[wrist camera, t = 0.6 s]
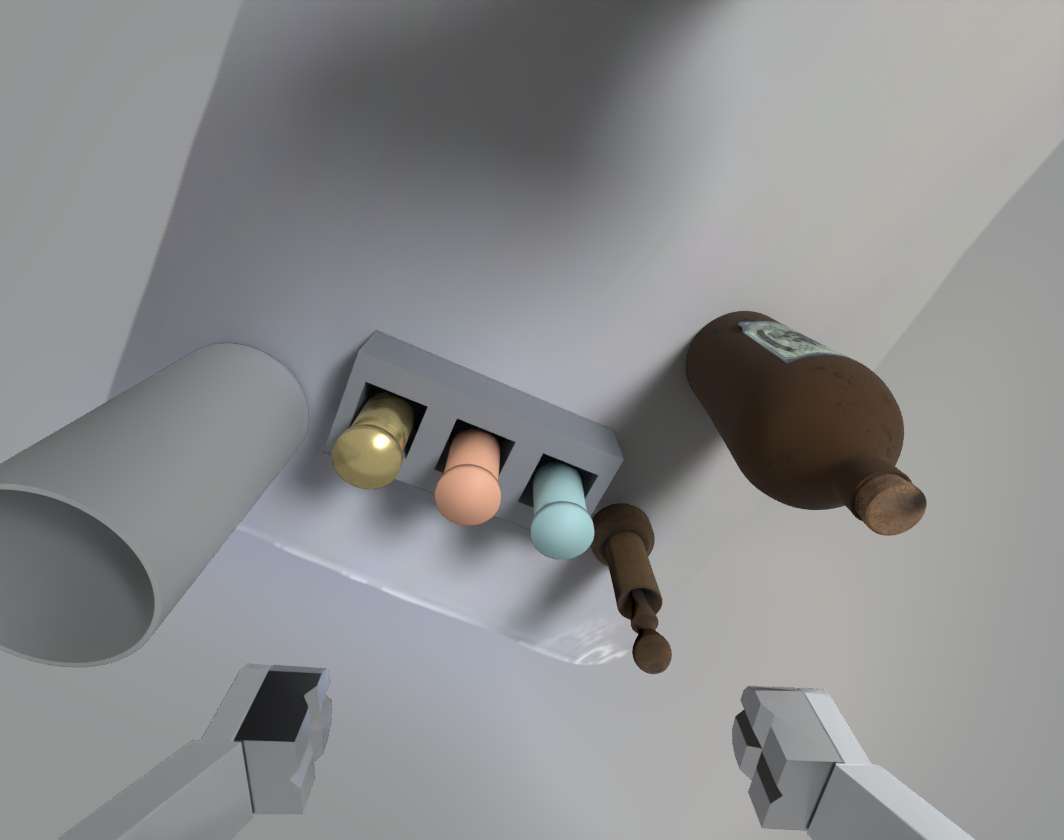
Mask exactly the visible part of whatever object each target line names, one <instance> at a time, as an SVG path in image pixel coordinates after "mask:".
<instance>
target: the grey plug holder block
mask: <svg viewBox="0 0 1064 840" xmlns="http://www.w3.org/2000/svg"><path fill="white" fill-rule="evenodd" d="M372 384H373V385H375V386H378V387H380V388H383V389H385V390H388V391H390V392H393V393H395V394H398V395H400V396H403V397H405V398H408V399H410V400H413V401H415V402H418V403H420V404H422V405H425V406H427V408H426V411H425V413H424V415H423V418H422V420H421V423H420V425H419V427H418V429H415V428H412V430H411V433H410V435H409V438H408V440H407V443H406V445H405V447H404V450H403V452H402V454H403V461H402V465H401V468H400V470H399V473H398V475H397V476H396V478H395V479H396V480H399V481H401V482H404V483H407V484H409V485H412V486H415V487H417V488H420V489H423V490H425V491H428V492H431V493H433V494H435V490H436V486H437V483H438V480H439V479H440V477H441V476H442V474H443V473H444V471H445V467H446V463H447V459H448V455H449V451H450V447H451V442H448V441H447V440H448V438H449V435H450V433H451V431H452V429H453V426H454V424H455V422H456V420H457V419H460V420H462V421H465V422H467V423H470V424H472V425H475V426H477V427H480V428H482V429H485V430H487V431H489V432H492V433H494V434H497V435H499V436H502V437H504V438H505V439H504V441H503V443H502V445H501V447H500V463H499V476H498V482H499V484H500V488H501V501H500V506H499V508H498V510H497V512H496V513H495V515H494V516H495V517H497V518H500V519H503V520H505V521H508V522H511V523H513V524H516V525H519V526H521V527H524V528H527V529H530V530H531V522H532V519H533V517H534V501H533V479H534V475H532V474H533V472H534V470H535V468H536V466H537V464H538V462H539V460H540V458H541V456H542V454H543V453H544V454H547V455H549V456H552V457H554V458H557V459H559V460H561V461H564V462H566V463H569V464H571V465H574V466H576V467H579V468H578V469H577V471H578V472H579V474H580V477H581V481H582V487H583V492H584V498H585V503H586V509H587V512H588V513H589V514H590V516H591V515H592V513H593V511H594V510H595V508H596V506H597V504H598V503H599V501H600V499H601V498H602V496H603V494H604V493H605V491H606V489H607V488H608V486H609V484H610V482H611V481H612V479H613V477H614V476H615V474H616V472H617V471H618V469H619V467H620V466H621V464H622V462H623V460H624V459H623V456H622V453H621V450H620V447H619V444H618V441H617V438H616V435H615V432H614V430H612V429H610V428H607V427H605V426H602V425H600V424H598V423H595V422H593V421H591V420H588V419H586V418H583V417H581V416H579V415H576V414H574V413H572V412H569V411H567V410H564V409H562V408H560V407H557V406H555V405H553V404H550V403H548V402H545V401H543V400H541V399H538V398H536V397H534V396H531V395H529V394H527V393H524V392H522V391H519V390H517V389H515V388H512V387H510V386H508V385H505V384H503V383H500V382H498V381H496V380H493V379H491V378H489V377H486V376H484V375H481V374H479V373H477V372H474V371H472V370H470V369H467V368H465V367H462V366H460V365H458V364H455V363H453V362H451V361H448V360H446V359H443V358H441V357H439V356H436V355H434V354H432V353H429V352H427V351H424V350H422V349H420V348H417V347H415V346H413V345H410V344H408V343H405V342H403V341H401V340H398V339H396V338H394V337H391V336H389V335H386V334H384V333H382V332H379V331H377V330H376V331H375V332H374V333H373V335H372V336H371V337H370V338H369V339H368V340H367V342H366V343H365V344H364V345H363V346H362V347H361V349H360V350H359V351H358V354H357V357H356V360H355V363H354V366H353V369H352V371H351V374H350V377H349V380H348V383H347V386H346V388H345V391H344V394H343V397H342V400H341V403H340V406H339V408H338V411H337V414H336V417H335V420H334V423H333V426H332V428H331V431H330V434H329V437H328V440H327V443H326V446H325V448H324V451H323V452H324V453H326V454H329V455H332V450H333V447H334V445H335V443H336V441H337V440H338V438H339V437H340V435H341V434H342V433H343V432H344V431H346V430H347V429H349V428H350V427H351V426H352V424H353V423H354V421H355V420H356V418H357V417H358V415H359V413H360V412H361V410H362V409H363V407H364V406H365V403H366V400H367V397H368V395H369V392H370V389H371V387H372Z"/></svg>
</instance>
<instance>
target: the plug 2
mask: <svg viewBox="0 0 1064 840" xmlns="http://www.w3.org/2000/svg"><path fill="white" fill-rule="evenodd" d="M499 463H500V445H499V443H498V441H497V439H496V438H495V437H494V436H493V435H492V434H491V433H490V432H488V431H486V430H483V429H479V428H471V429H466V430H464V431H462V432H460V433H459V434H457V435H456V436H455V438H454V439H453V441H452V443H451V447H450V451H449V455H448V459H447V463H446V467H445V471H444V473H443V474H442V476H441V477H440V479H439V480H438V483H437V486H436V490H435V502H436V506H437V508H438V510H439V511H440V512H441V514H442V515H443V516H444V517H445V518H447V519H448V520H450V521H452V522H454V523H457V524H460V525H467V526H470V525H478V524H481V523H484V522H486V521H488V520H489V519H490V518H492V517H493V516H494V515H495V513H496V512H497V510H498V508H499V506H500V501H501V488H500V484H499V482H498V476H499Z"/></svg>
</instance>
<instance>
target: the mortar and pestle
mask: <svg viewBox="0 0 1064 840" xmlns="http://www.w3.org/2000/svg"><path fill="white" fill-rule="evenodd" d="M592 521H593V526H594V538H593V541H592V543H591V547H592V550H593V553H594V555H595V556H596V558H597V559H598V560H599V561H600V562H602V563H603V564H605V565H607V566H609V570H610V574H611V579H612V583H613V588H614V592H615V597H616V602H617V607H618V610H619V612H620V614H621V615H622V616H624V617H625V618H627V619H630V620H631V627H632V629H633V630H634V631H635V632H636V633H638V636H637V638H636V640H635V643H634V645H633V651H632V653H633V658H634V661H635V663H636V664H637V666H638V667H639V668H640V669H641V670H643V671H644V672H646V673H650V674H658V673H661V672H663V671H664V670H666V668H667V667H668V666H669V664H670V661H671V656H672V654H671V648H670V645H669V643H668V642H667V640H666V639H665V638H664V637H663V636H662V635H660V634H659V633H658V632H656V631H655V629H656V628H657V626H658V619H657V617H656V615H655V614H657V613H658V611H659V610H660V609H661V606H662V597H661V594H660V591H659V588H658V585H657V582H656V579H655V576H654V574H653V571H652V568H651V565H650V562H649V559H648V556H649V555H650V553H651V551H652V549H653V546H654V533H653V530H652V527H651V524H650V521H649V519H648V517H647V516H646V514H645V513H644V512H643V511H642V510H641V509H639V508H637V507H635V506H633V505H629V504H615V505H611V506H608V507H606V508H604V509H603V510H601V511H600V512H599V513H598V514H597V515H596V516H595V517H594V518H593V520H592Z"/></svg>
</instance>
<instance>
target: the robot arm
mask: <svg viewBox="0 0 1064 840" xmlns="http://www.w3.org/2000/svg"><path fill="white" fill-rule="evenodd" d="M329 685H330V676H329V670H328V669H326V668H311V667H297V666H283V665H261V664H246V665H245V666H244V667H243V668H242V669H241V670H240V671H239V673H238V675H237V676H236V678H235V680H234V682H233V683H232V685H231V687H230V689H229V691H228V692H227V694H226V696H225V698H224V699H223V701H222V703H221V705H220V707H219V708H218V710H217V712H216V714H215V715H214V717H213V719H212V721H211V723H210V724H209V726H208V728H207V730H206V731H205V733H204V735H203V737H202V738H201V740H192V741H190V742H189V743H187V744H186V745H185V746H183V747H182V748H181V749H179V750H178V751H176V752H175V753H174V754H172V755H171V756H170V757H168V758H167V759H165V760H164V761H163V762H161V763H160V764H159V765H157V766H156V767H154V768H153V769H152V770H150V771H149V772H148V773H146V774H145V775H144V776H142V777H141V778H139V779H138V780H137V781H135V782H134V783H132V784H131V785H130V786H129V787H127V788H126V789H124V790H123V791H121V792H120V793H119V794H117V795H116V796H115V797H114V798H112V799H111V800H109V801H108V802H106V803H105V804H104V805H102V806H101V807H99V808H98V809H97V810H95V811H94V812H93V813H91V814H90V815H88V816H87V817H86V818H84V819H83V820H82V821H80V822H79V823H77V824H76V825H75V826H74V827H72V828H71V829H69V830H68V831H66V832H65V833H64V834H63V835H61V836H60V837H58V838H57V839H55V840H232V839H233V838H234V837H235V836H236V835H237V834H238V833H239V832H240V831H241V830H242V829H243V828H244V827H245V826H246V825H247V824H248V822H249V821H250V820H251V819H252V818H253V814H303V812H304V809H305V806H306V803H307V800H308V798H309V795H310V792H311V789H312V786H313V783H314V780H315V767H314V762H315V761H316V760H317V759H318V758H319V757H321V756H322V755H323V753H324V750H325V747H326V744H327V741H328V736H329V731H330V726H331V720H332V700H331V699H330V698H329V697H328V696H327V695H326V693H327V691H328V688H329ZM741 702H742V705H743V707H744V710H743V711H742V712H740V713H739V714H738V715H737V716H736V717H735V720H734V725H733V728H732V737H733V739H732V744H733V748H734V753H735V757H736V760H737V763H738V766H739V768H740V770H741V771H742V772H743V773H744V774H746V776H748V777H749V778H750V779H751V780H752V782H751V785H750V788H749V791H748V793H749V795H750V798H751V801H752V803H753V806H754V808H755V811H756V814H757V817H758V819H759V822H760V824H761V827H762V828H770V829H787V830H804V831H807V834H808V835H809V836H810V837H811V839H812V840H975V839H973V838H972V837H971V836H970V835H968V834H967V833H966V832H965V831H963V830H962V829H961V828H959V827H958V826H957V825H956V824H954V823H953V822H952V821H950V820H949V819H948V818H947V817H945V816H944V815H943V814H941V813H940V812H939V811H938V810H936V809H935V808H934V807H932V806H931V805H930V804H929V803H927V802H926V801H925V800H923V799H922V798H921V797H920V796H918V795H917V794H916V793H914V792H913V791H912V790H911V789H909V788H908V787H907V786H906V785H904V784H903V783H902V782H900V781H899V780H898V779H897V778H895V777H894V776H893V775H891V774H890V773H888V771H886V770H885V769H884V768H882V767H881V766H880V765H872V764H871V763H870V761H869V759H868V758H867V756H866V754H865V753H864V751H863V750H862V748H861V746H860V745H859V743H858V741H857V740H856V738H855V736H854V735H853V733H852V731H851V730H850V728H849V727H848V725H847V723H846V721H845V720H844V718H843V717H842V715H841V713H840V712H839V710H838V708H837V707H836V705H835V703H834V702H833V700H832V698H831V697H830V695H829V694H828V693H827V692H826V691H825V690H824V689H813V688H791V687H761V686H758V687H757V686H748V687H747V688H746V689H745V690H744V691H743V694H742V697H741Z"/></svg>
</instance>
